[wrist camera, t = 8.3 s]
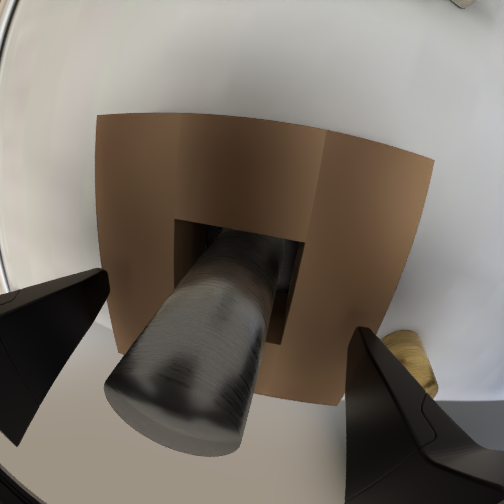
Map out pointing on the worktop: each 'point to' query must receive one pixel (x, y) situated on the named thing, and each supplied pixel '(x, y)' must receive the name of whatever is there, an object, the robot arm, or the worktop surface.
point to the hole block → (259, 228)
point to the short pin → (412, 358)
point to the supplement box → (463, 2)
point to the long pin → (202, 349)
